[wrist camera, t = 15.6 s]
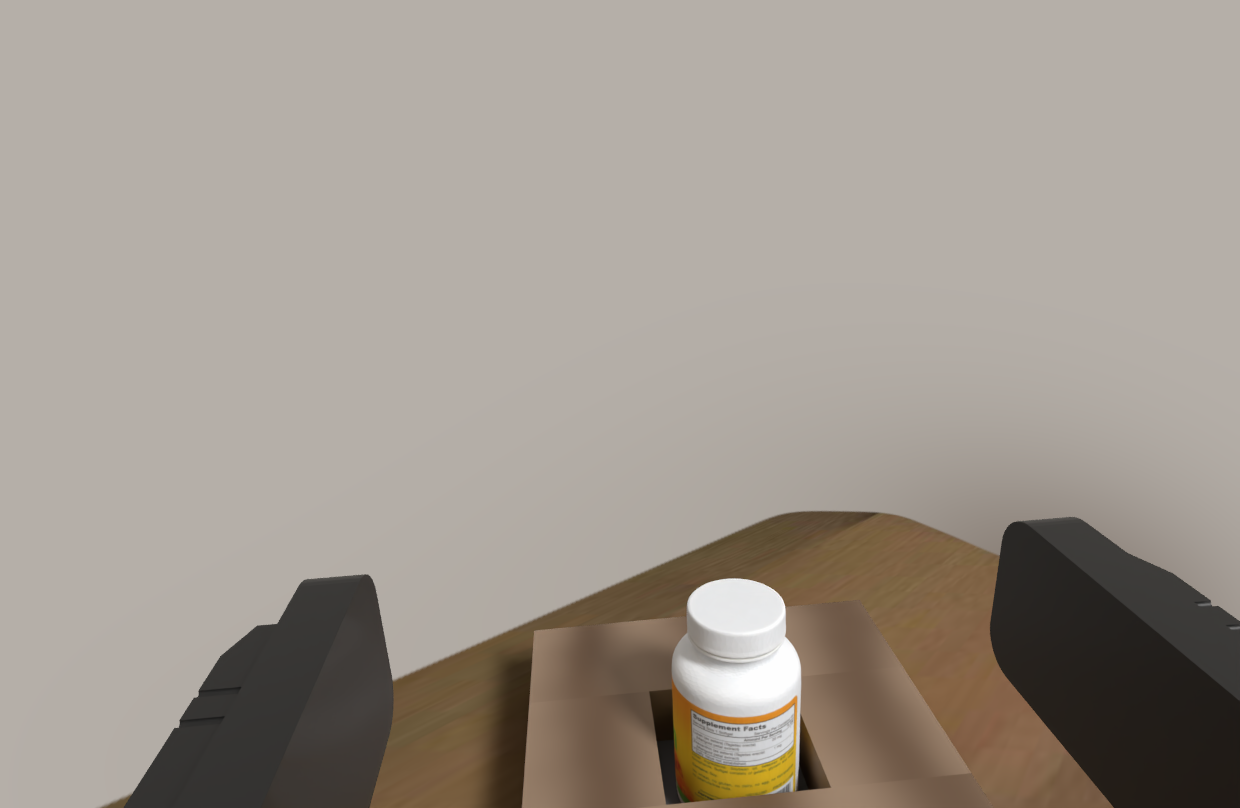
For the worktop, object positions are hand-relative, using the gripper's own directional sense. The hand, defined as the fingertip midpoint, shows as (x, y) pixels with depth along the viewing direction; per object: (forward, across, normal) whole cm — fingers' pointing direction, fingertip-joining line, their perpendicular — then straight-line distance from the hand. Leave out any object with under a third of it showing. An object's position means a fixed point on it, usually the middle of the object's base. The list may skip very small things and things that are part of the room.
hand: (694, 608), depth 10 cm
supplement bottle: (+18, -5, +22) cm, 29 cm away
